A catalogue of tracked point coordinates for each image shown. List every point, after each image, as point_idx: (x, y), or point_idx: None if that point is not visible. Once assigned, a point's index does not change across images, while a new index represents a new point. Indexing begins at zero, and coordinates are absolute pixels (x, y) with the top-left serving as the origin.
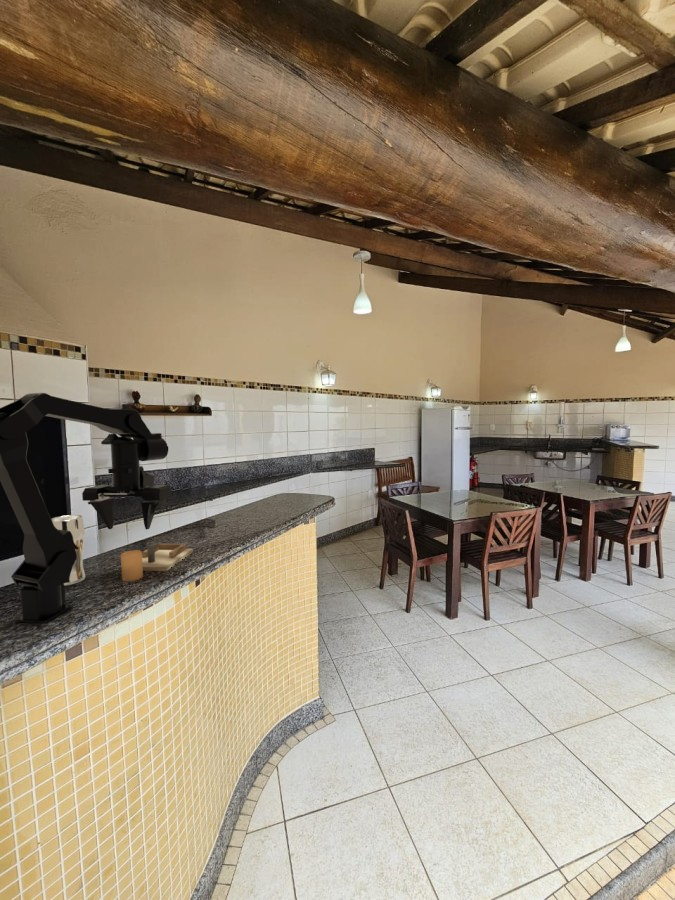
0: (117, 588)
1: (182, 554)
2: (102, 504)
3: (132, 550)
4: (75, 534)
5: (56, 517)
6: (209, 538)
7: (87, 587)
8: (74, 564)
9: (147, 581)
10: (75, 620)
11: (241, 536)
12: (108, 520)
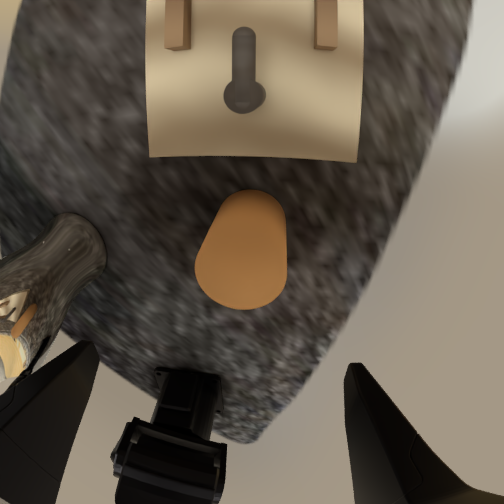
0: None
1: (352, 6)
2: (39, 501)
3: (218, 235)
4: (31, 372)
5: None
6: None
7: (159, 289)
8: (75, 294)
9: (323, 252)
10: (266, 405)
11: None
12: (77, 404)
